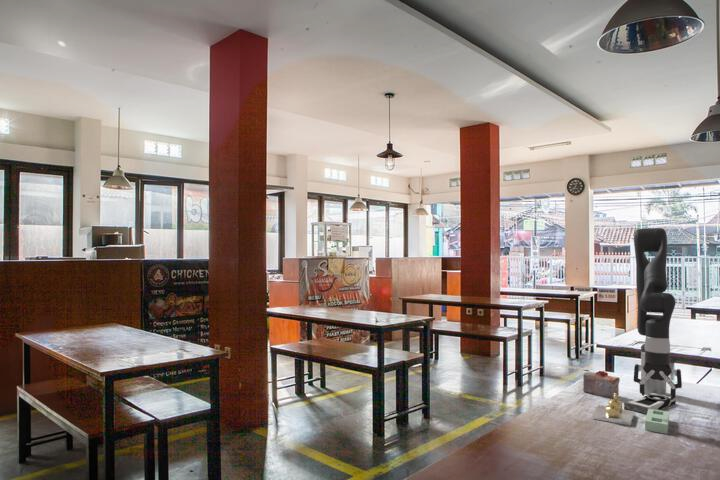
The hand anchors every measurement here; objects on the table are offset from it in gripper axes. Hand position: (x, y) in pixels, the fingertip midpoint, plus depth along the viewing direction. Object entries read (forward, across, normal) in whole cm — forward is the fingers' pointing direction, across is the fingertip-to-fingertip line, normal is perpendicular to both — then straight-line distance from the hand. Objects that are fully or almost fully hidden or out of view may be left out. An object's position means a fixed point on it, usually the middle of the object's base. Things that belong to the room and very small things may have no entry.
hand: (657, 397), depth 171 cm
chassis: (+10, +14, 0) cm, 17 cm away
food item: (+10, +22, -29) cm, 38 cm away
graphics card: (+10, +3, -23) cm, 25 cm away
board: (+10, 0, 0) cm, 10 cm away
